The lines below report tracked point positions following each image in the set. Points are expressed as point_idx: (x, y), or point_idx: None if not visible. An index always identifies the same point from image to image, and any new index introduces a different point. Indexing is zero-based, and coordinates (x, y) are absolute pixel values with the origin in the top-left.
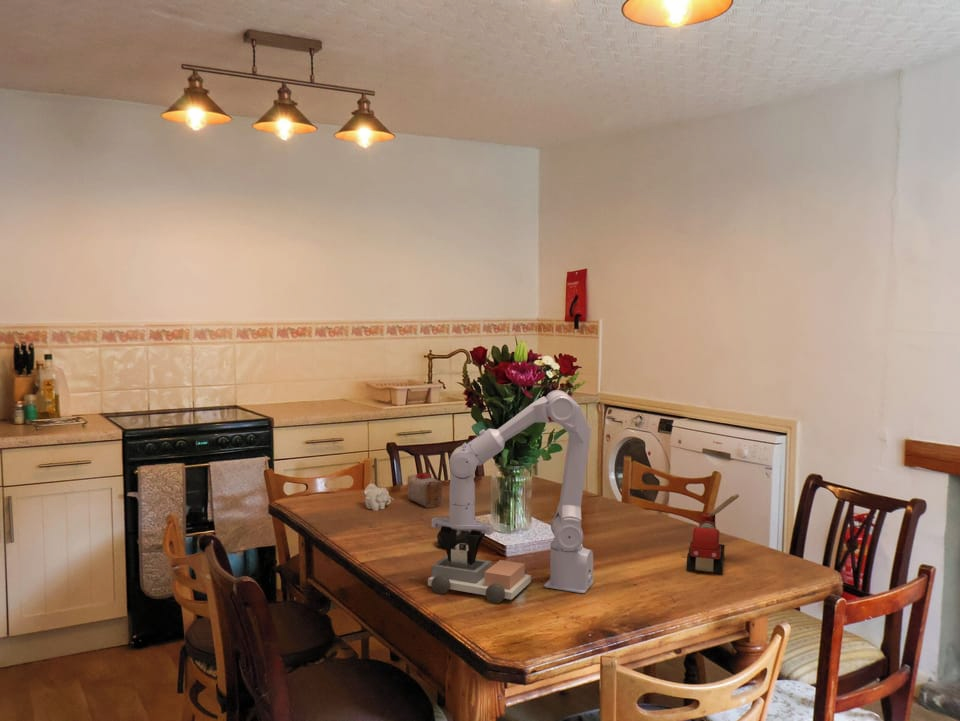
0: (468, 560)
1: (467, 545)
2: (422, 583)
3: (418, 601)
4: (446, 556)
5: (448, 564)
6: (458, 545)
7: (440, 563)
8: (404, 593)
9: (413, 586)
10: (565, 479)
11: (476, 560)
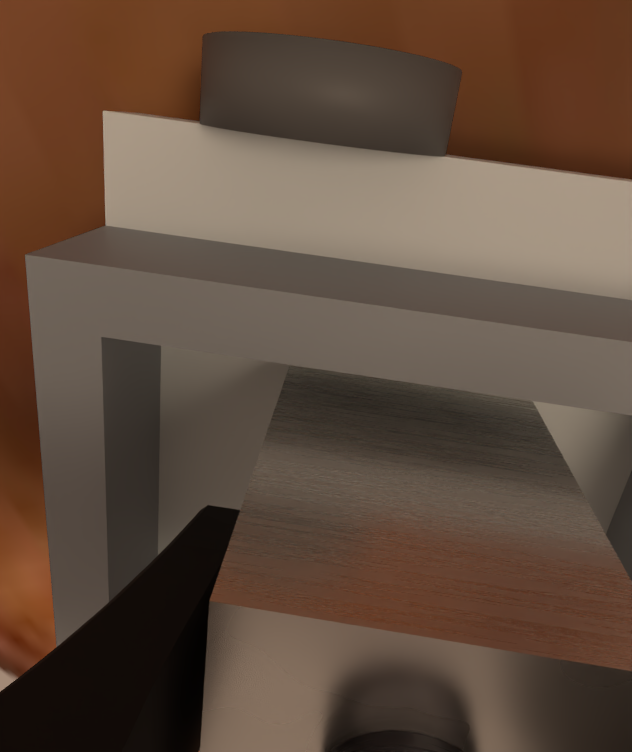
0: None
1: (484, 670)
2: (40, 465)
3: None
4: (48, 349)
5: (143, 347)
6: (259, 697)
7: (111, 597)
8: (35, 657)
9: (13, 537)
10: None
11: (590, 402)
